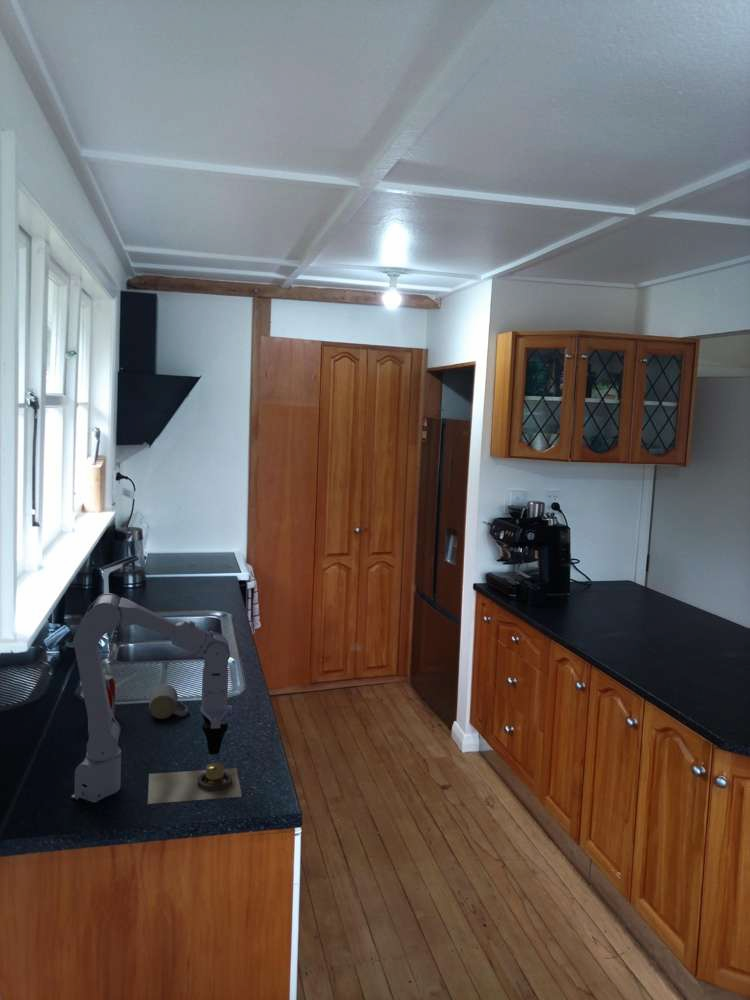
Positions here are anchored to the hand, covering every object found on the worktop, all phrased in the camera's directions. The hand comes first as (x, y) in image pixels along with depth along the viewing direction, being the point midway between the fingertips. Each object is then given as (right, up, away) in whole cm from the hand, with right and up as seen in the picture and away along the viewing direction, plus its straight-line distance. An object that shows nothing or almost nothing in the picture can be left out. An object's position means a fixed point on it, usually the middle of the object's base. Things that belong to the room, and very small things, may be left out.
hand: (213, 746), depth 176 cm
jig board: (-4, -9, -1) cm, 10 cm away
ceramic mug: (-21, -4, +41) cm, 46 cm away
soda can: (-38, -4, +35) cm, 51 cm away
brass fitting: (0, -8, 0) cm, 8 cm away
